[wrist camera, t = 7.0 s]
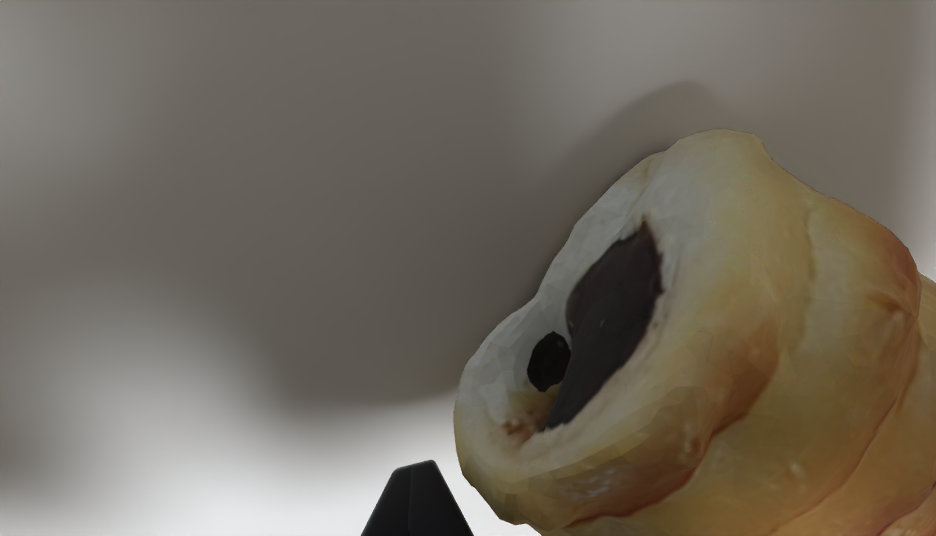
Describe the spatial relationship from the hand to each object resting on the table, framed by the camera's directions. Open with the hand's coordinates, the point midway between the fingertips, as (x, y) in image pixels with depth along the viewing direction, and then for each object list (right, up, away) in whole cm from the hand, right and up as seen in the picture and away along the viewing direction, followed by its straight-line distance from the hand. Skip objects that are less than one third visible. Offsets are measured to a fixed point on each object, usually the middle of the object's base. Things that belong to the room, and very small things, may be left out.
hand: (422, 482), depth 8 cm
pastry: (+5, +2, +2) cm, 5 cm away
